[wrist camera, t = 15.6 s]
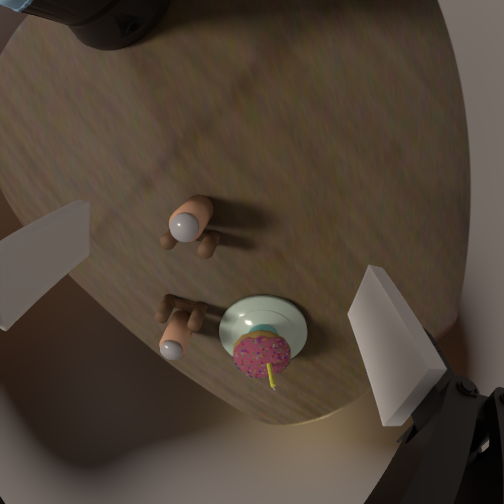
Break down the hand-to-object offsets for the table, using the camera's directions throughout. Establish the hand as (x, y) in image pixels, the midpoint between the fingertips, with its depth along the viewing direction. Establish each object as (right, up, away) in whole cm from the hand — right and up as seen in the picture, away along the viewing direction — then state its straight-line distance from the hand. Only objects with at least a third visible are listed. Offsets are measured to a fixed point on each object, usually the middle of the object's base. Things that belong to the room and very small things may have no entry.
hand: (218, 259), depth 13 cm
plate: (+3, -12, +34) cm, 37 cm away
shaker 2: (-10, -11, +34) cm, 37 cm away
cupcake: (+3, -13, +33) cm, 36 cm away
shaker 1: (-6, +6, +27) cm, 28 cm away
